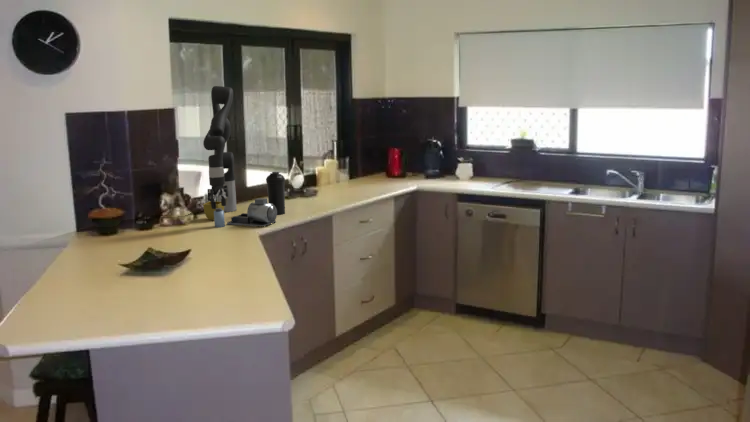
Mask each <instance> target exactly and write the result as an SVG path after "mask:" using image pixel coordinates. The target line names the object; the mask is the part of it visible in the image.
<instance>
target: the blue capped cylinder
mask: <svg viewBox="0 0 750 422" xmlns="http://www.w3.org/2000/svg"><path fill="white" fill-rule="evenodd" d="M215 210H216V211H214V220H213V221H214V228H223V227H226V225H225V224H226V223H225V212H224V210H222V208H216V209H215Z"/></svg>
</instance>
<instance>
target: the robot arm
mask: <svg viewBox="0 0 750 422" xmlns="http://www.w3.org/2000/svg"><path fill="white" fill-rule="evenodd" d="M210 92H211V94H210V98H211V105H212V118H211V122H210V126H209V130H208V131H207V133H206V135H205V137H204V139H203V147H204V149H205V150H206V151H214V152H213V154H211V155H209V156H208V177H209V178H208V179H209V186H211V188H207V202H209V201H211V207H212V209H216V202H215V201H216V200H217V201H218V202H221V205H222V206H224V213H226V212H228V213H229V212H236V211H237V210H238V209H237V208H238V207H237V194H236V178H235V157H234V153H233V152H232V151H226V152H225V147H226V143H227V142H228V141H229V138H231V134H232V128H231V127H232V124H231V122H230V120H229V119H228V116H229V114H230V110H231V107H232V104H233V101H234V90H233V88H232V87H230V86H220V85H215V86H213V87H212V88H211V91H210ZM221 105H223V106H222V107H221ZM225 169H226V170H227V171H226V172H225Z"/></svg>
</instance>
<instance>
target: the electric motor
mask: <svg viewBox="0 0 750 422" xmlns="http://www.w3.org/2000/svg"><path fill="white" fill-rule="evenodd" d="M277 216H278V215H277V209H276V207H275V206H274V204H270V203H269V202H268V197H267V198H265V197H263V198H262V197H258V198H255V199H254V202H251V203H249V205H248V207H247V212H246V213H245V212H244V213H243V212H242V213H241V214H238V215H234V216H232V217H231V220H230V221H227V222H226V224H227V225H232V226H242V225H244V226H243V227H255V226H265V227H267V226H266V225H268V226H270V225H272V224H271V223H273V224H275V223H276V222H277V221H276V219H277ZM274 222H275V223H274ZM269 224H270V225H269Z"/></svg>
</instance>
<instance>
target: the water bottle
mask: <svg viewBox="0 0 750 422" xmlns="http://www.w3.org/2000/svg"><path fill="white" fill-rule="evenodd" d="M265 183H266V185H267V188H266V189H267V190H266V191H267V203H270V204H274V206H275V207H276V209H277V216H282V215H285V214H286V208H285V207H286V206H285V205H286V199H285V197H286V196H285V195H286V194H285V191H286V189H285V183H286V179H285V176H284V175H282V174H281V171H272V172H271V173H269V175H267V177H266V178H265Z"/></svg>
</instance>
